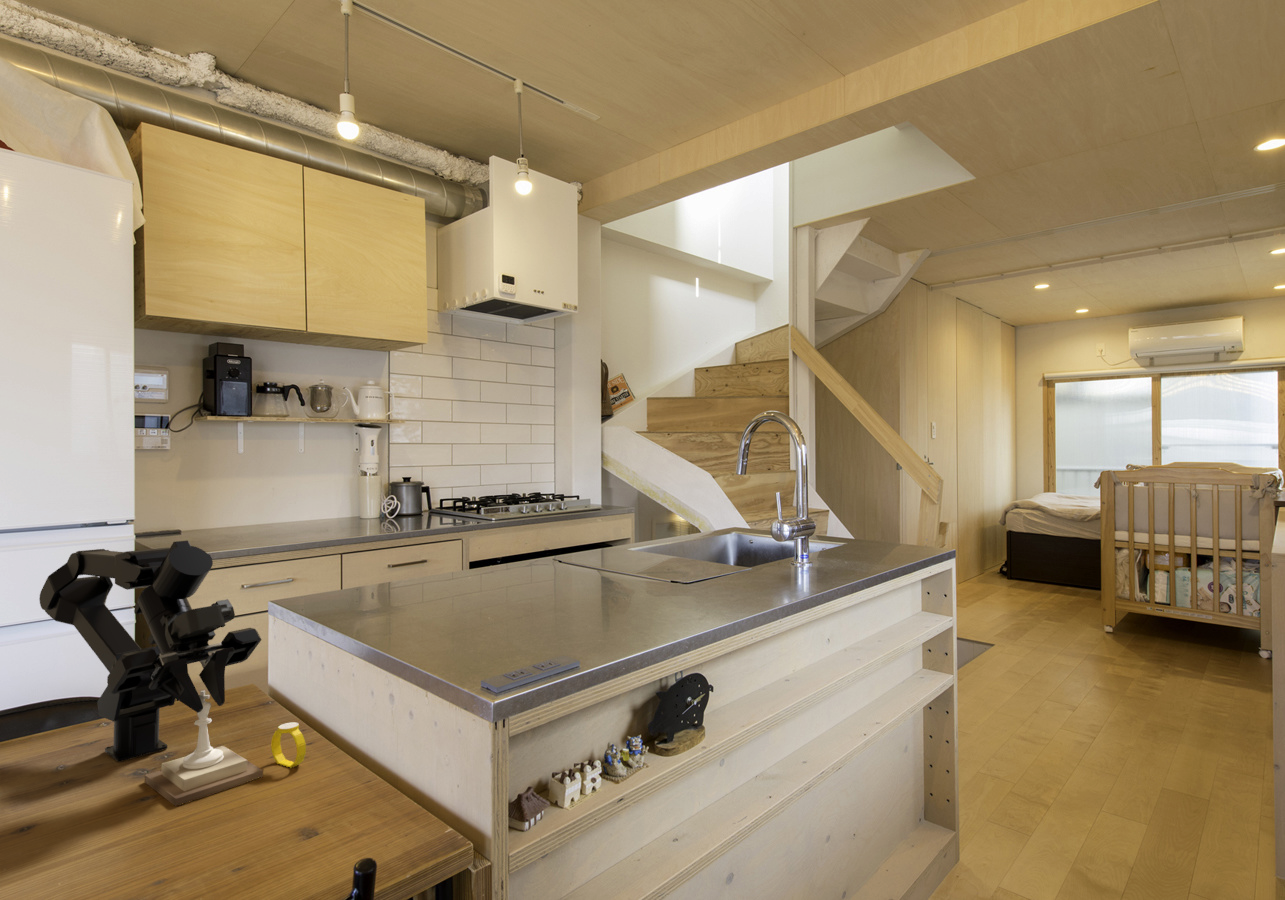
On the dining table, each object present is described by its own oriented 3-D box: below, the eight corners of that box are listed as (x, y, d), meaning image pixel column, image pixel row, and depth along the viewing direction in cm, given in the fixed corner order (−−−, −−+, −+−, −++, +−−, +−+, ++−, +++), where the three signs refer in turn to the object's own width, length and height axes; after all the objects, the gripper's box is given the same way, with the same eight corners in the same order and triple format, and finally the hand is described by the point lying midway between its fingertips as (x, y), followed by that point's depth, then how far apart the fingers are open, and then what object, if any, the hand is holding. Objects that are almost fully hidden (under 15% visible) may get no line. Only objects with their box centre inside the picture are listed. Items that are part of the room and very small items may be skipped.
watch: (266, 766, 105) (265, 726, 105) (283, 759, 107) (282, 720, 108) (294, 772, 102) (293, 730, 103) (310, 764, 105) (309, 724, 105)
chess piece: (213, 768, 98) (212, 696, 97) (175, 770, 97) (174, 698, 97) (230, 752, 102) (229, 684, 102) (194, 754, 102) (193, 685, 102)
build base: (144, 782, 99) (145, 764, 99) (228, 756, 107) (229, 739, 107) (175, 806, 92) (176, 787, 92) (262, 777, 101) (263, 759, 101)
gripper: (120, 594, 94) (162, 693, 88) (255, 575, 110) (298, 657, 105) (89, 645, 98) (128, 742, 92) (225, 619, 114) (264, 700, 108)
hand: (211, 707), depth 99 cm, fingers open, 3 cm apart
